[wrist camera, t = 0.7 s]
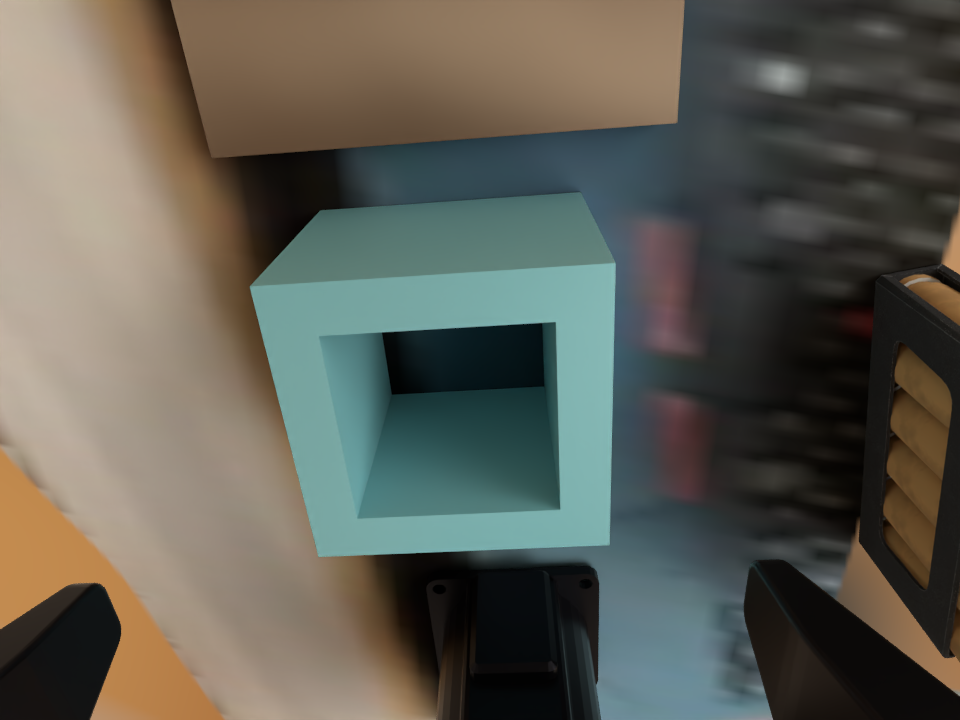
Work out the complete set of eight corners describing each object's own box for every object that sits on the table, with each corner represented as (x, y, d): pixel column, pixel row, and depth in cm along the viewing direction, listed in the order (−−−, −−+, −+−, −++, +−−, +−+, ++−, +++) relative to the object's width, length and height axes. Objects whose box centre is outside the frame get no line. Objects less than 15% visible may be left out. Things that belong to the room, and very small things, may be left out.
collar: (581, 415, 22) (609, 545, 16) (361, 427, 22) (318, 557, 17) (580, 191, 18) (615, 262, 13) (320, 210, 19) (250, 286, 13)
